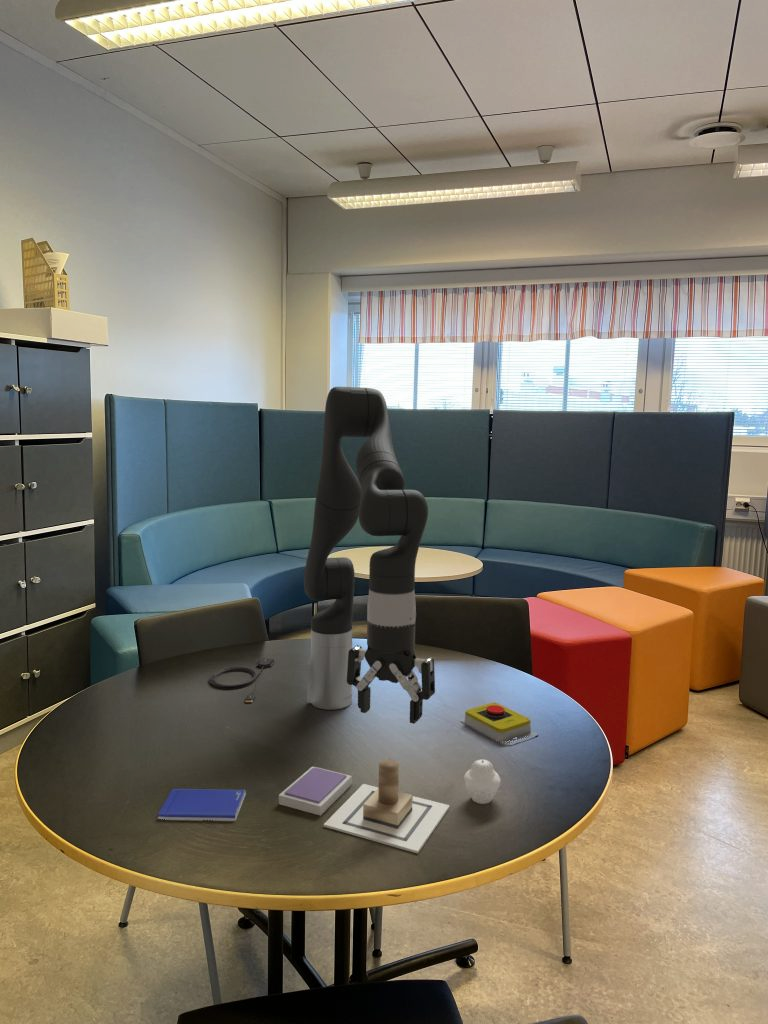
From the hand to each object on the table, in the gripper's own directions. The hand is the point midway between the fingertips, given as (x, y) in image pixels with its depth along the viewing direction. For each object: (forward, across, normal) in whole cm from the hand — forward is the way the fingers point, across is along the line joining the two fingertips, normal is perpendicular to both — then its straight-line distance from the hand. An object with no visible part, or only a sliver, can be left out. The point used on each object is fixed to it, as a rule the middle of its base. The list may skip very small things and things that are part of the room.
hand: (389, 716), depth 112 cm
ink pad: (+17, -14, +1) cm, 22 cm away
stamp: (+17, 0, 0) cm, 17 cm away
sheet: (+17, 0, 0) cm, 17 cm away
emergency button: (+18, +7, +41) cm, 45 cm away
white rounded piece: (+17, +12, +12) cm, 24 cm away
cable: (+18, -58, +39) cm, 72 cm away
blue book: (+18, -29, -11) cm, 35 cm away
